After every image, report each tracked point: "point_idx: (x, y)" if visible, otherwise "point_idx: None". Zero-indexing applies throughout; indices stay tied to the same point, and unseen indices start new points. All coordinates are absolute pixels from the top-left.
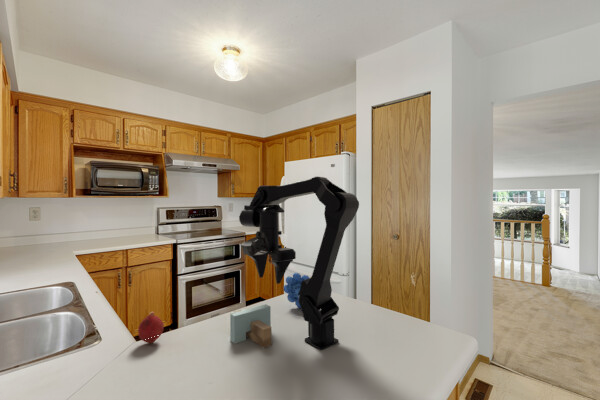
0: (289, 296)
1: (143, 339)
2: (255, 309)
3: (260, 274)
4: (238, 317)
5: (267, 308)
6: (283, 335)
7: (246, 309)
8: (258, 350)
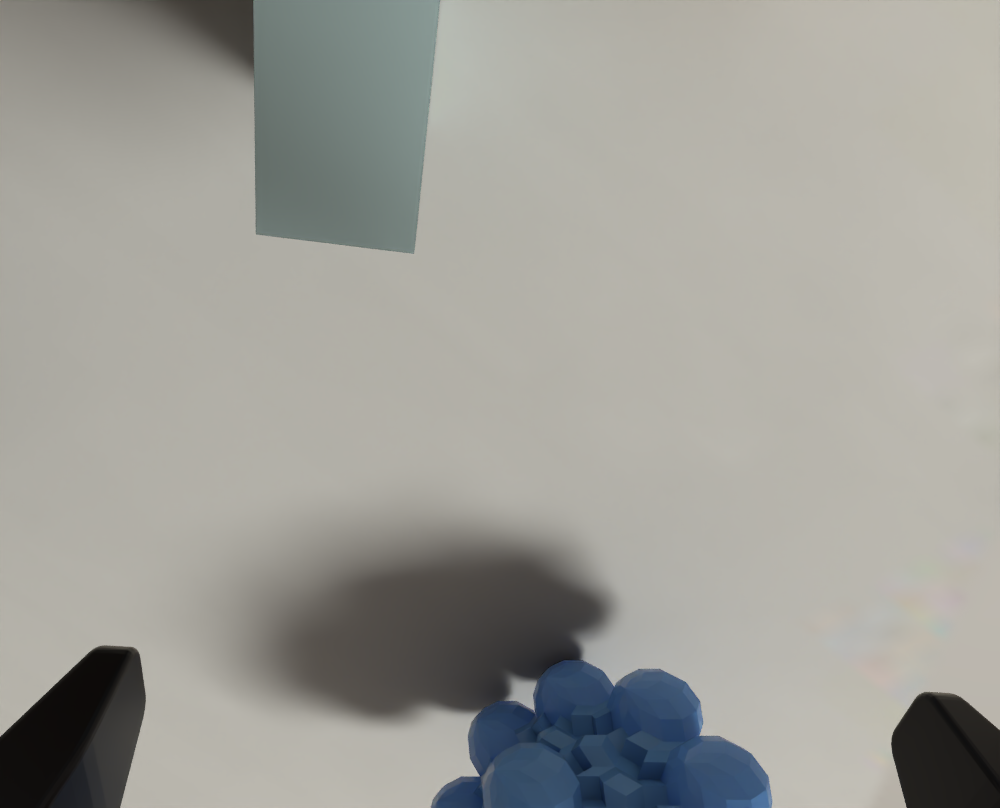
0: (659, 713)
1: None
2: None
3: (959, 769)
4: None
5: (259, 162)
6: (126, 147)
7: None
8: None
